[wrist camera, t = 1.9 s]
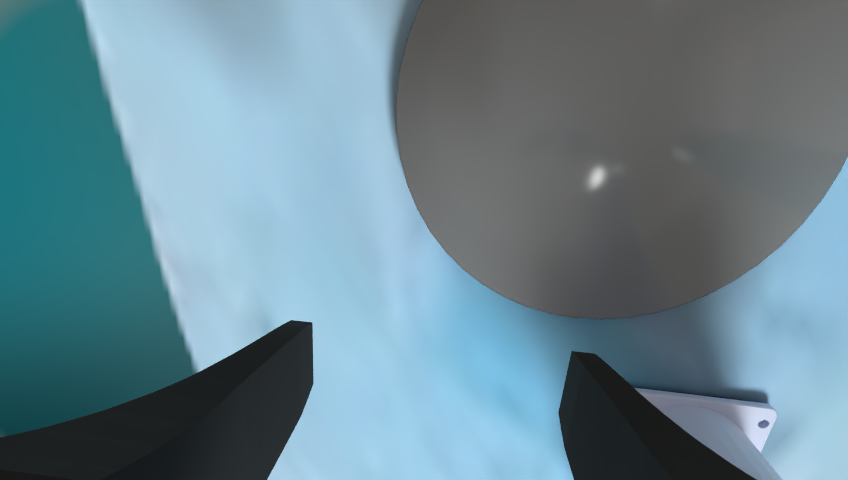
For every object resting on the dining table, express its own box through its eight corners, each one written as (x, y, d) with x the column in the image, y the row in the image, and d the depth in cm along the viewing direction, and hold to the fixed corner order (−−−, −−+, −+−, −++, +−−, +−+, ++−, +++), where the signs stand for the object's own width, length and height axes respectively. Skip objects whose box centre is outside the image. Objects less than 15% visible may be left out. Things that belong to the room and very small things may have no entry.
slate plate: (758, 328, 21) (773, 340, 20) (388, 287, 22) (385, 296, 21) (940, -132, 15) (973, -148, 14) (414, -161, 16) (411, -177, 15)
